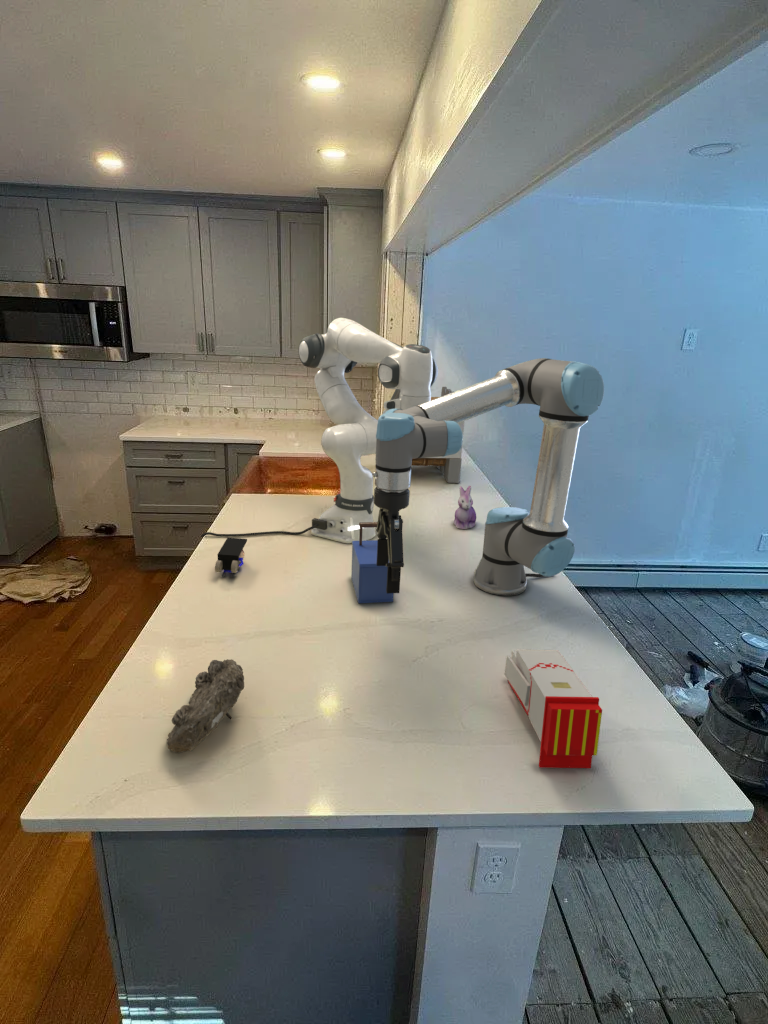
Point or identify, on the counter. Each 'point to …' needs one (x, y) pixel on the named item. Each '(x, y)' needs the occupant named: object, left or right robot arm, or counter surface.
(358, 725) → the counter surface
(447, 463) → the transformer
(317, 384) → the left robot arm
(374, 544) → the lid
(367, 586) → the chest
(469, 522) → the figurine
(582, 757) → the toy
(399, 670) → the counter surface
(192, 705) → the fossil
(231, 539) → the figurine character
